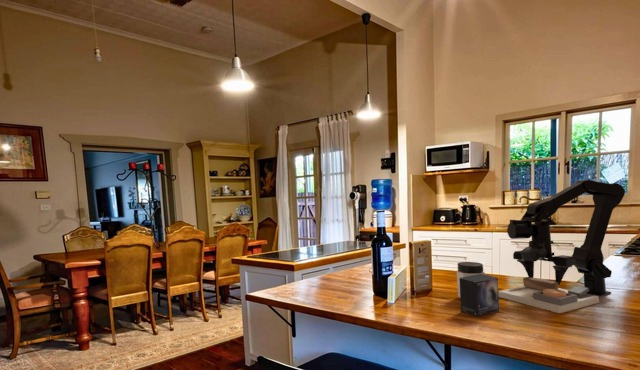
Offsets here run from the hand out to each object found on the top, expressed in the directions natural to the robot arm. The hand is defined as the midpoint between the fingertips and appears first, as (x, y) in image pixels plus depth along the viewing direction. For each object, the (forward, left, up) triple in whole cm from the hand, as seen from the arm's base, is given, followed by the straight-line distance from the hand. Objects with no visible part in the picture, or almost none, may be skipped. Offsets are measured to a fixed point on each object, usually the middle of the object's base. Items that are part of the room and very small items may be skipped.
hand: (544, 282), depth 117 cm
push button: (+11, +10, -1) cm, 15 cm away
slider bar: (+2, 0, -2) cm, 3 cm away
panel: (+6, +4, -4) cm, 8 cm away
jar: (+25, -9, -4) cm, 27 cm away
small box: (+33, +1, -4) cm, 34 cm away
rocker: (0, +11, -1) cm, 11 cm away
